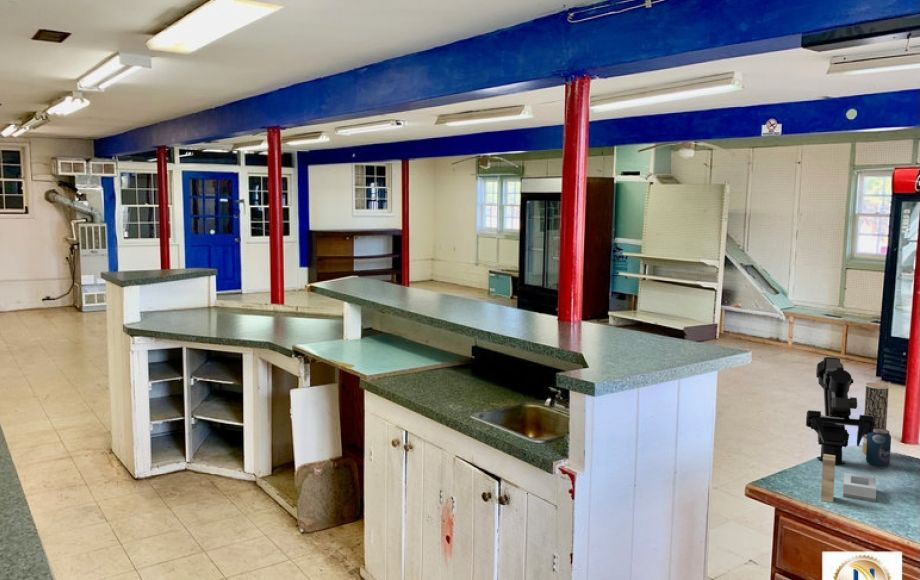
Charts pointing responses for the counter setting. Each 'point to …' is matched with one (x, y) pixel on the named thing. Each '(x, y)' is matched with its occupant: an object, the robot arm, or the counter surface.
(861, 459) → the counter surface
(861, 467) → the counter surface
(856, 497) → the end cap
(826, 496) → the slat
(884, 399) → the bark log
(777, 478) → the counter surface
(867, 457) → the soda can
